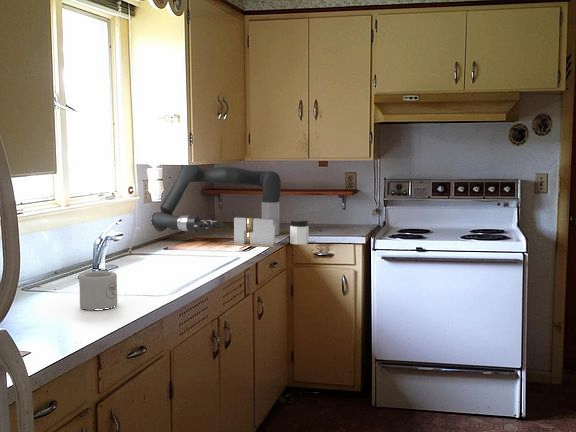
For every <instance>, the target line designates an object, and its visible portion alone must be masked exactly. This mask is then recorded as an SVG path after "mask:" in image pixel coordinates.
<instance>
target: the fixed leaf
mask: <svg viewBox="0 0 576 432" xmlns="http://www.w3.org/2000/svg"><path fill="white" fill-rule="evenodd" d="M275 243H276V235H275V219H262V218H258V217H257V218H256V217H255V218H252V231H250V232H248V231H246V244H253V245H269V246H274V245H275Z"/></svg>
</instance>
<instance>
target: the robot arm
mask: <svg viewBox="0 0 576 432" xmlns="http://www.w3.org/2000/svg"><path fill="white" fill-rule="evenodd" d="M190 183H210V184H211V183H212V184H213V183H214V184H220V185H228V186H229V185H230V186H247V185H249V186H250V185H251V186H256V187H262V195H261V219H275V236H278V235H280V198H281V187H282V186H281V183H282V181H281V177H280V175H279V174H278V173H277V172H275V171H272V170H263V171H262V170H261V171H260V170H259V171H258V170H257V171H256V170H249V169H245V168H241V167H233V166H224V165H223V166H217V167H212V168H211V167H210V168H204V167H200V165H199V164H198V165H183V164H181V167H180V170H179V173H178V176H177V178H176V180H175V181H174V184H173V186H171V188H170V190H169V191H168V192H167V194H166V196H165V198H164V199H163V201H162V203H160V206H159V207H160V211H158V212H154V213H152V214H153V215H152V214H151V215H152V220H151V221H152V224H151V226H152V225H153V226H154V227H153V226H152V227H153V229H155V230H156V231H157V232H159V233H162V232H165V231H166V230H168V229H170V230H172V231H183V232H191V233H192V232H194V233H197V232H199V231H200V230H205V229H206V230H208V229H216V228H217V227H224V226H225V223H224V221H218V220H216V219H215V220H213V219H201V218H200V216H198V215H174V214H173V213H174V212H175V211H176V208H177V206H178V205H179V203H180V202H181V201H182V200H181V199H182V197H183V195H184V193H185V191H186V189H187V187H188V186H189V185H190Z"/></svg>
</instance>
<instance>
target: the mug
mask: <svg viewBox="0 0 576 432" xmlns="http://www.w3.org/2000/svg"><path fill="white" fill-rule="evenodd" d="M117 279H118V275H117V273H116V272H113V271H110V270H108V271H107V270H94V271H87V272H83V273H81V274H79V276H78V282H79V283H78V285H79V286H78V287H79V307H80V309H81V310H83V309H88V310H95V309H105V308H111V307H114V306H116V305H117V306H118V281H117ZM117 306H116V307H117ZM88 310H87V311H88Z"/></svg>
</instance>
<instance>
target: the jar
mask: <svg viewBox="0 0 576 432" xmlns="http://www.w3.org/2000/svg"><path fill="white" fill-rule="evenodd" d="M309 231H310V229H309V220H308V219H300V218H299V219H298V218H297V219H291V220H290V226H289V244H291V245H308V244H309V239H310V238H309V233H310V232H309Z"/></svg>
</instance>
